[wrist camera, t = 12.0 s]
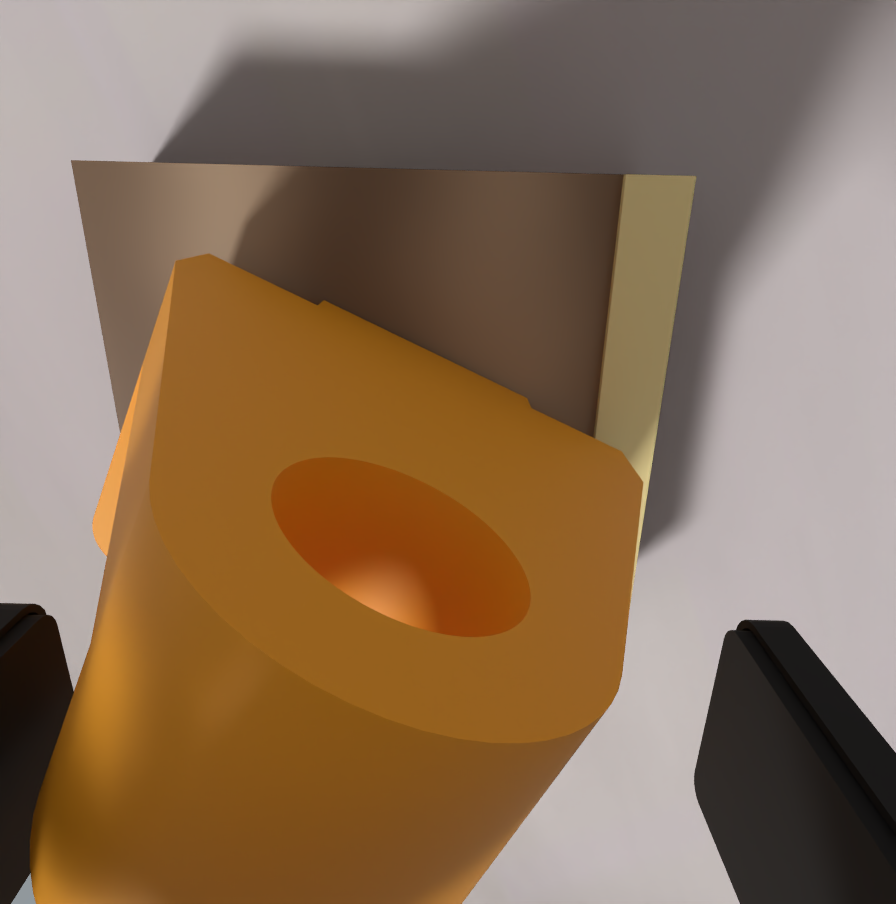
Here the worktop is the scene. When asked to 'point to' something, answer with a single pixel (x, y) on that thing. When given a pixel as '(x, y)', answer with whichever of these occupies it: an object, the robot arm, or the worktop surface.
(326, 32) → the worktop surface
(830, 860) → the robot arm
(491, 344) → the dock
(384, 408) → the bracket
